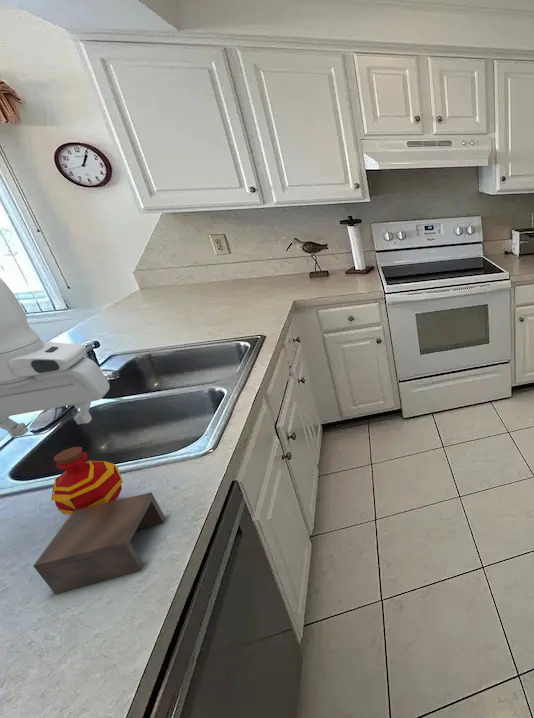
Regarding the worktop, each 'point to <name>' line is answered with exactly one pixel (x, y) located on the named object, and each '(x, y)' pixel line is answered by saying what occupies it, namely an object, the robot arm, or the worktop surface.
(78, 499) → the potion bottle
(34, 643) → the worktop surface
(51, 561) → the shelf
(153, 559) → the worktop surface
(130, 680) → the worktop surface
